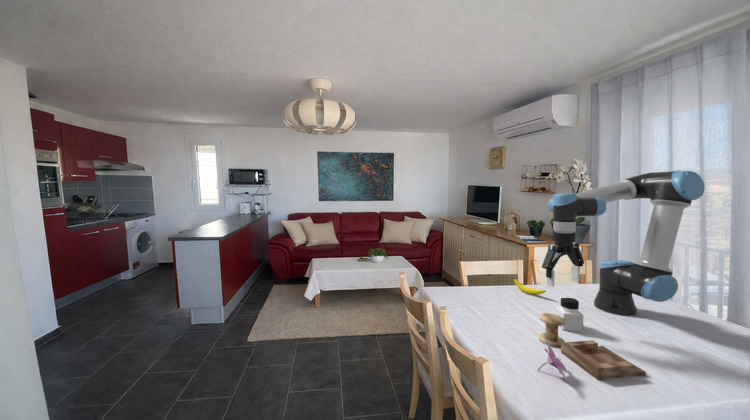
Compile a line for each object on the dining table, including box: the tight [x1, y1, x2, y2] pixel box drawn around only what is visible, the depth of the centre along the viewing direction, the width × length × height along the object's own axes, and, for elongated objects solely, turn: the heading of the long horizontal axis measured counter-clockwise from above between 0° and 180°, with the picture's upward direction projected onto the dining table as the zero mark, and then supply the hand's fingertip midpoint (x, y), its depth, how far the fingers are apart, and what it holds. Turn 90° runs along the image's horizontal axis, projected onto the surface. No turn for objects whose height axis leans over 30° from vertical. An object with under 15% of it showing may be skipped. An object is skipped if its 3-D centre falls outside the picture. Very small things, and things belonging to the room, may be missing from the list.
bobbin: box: [538, 312, 565, 348], centre depth 102 cm, size 8×8×9 cm
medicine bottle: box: [555, 296, 584, 333], centre depth 112 cm, size 7×7×12 cm
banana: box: [513, 277, 547, 295], centre depth 149 cm, size 3×19×6 cm, turn 26°
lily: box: [537, 336, 569, 384], centre depth 84 cm, size 12×12×10 cm
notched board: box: [560, 339, 647, 381], centre depth 89 cm, size 16×14×4 cm
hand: (562, 283), depth 111 cm, fingers open, 13 cm apart
